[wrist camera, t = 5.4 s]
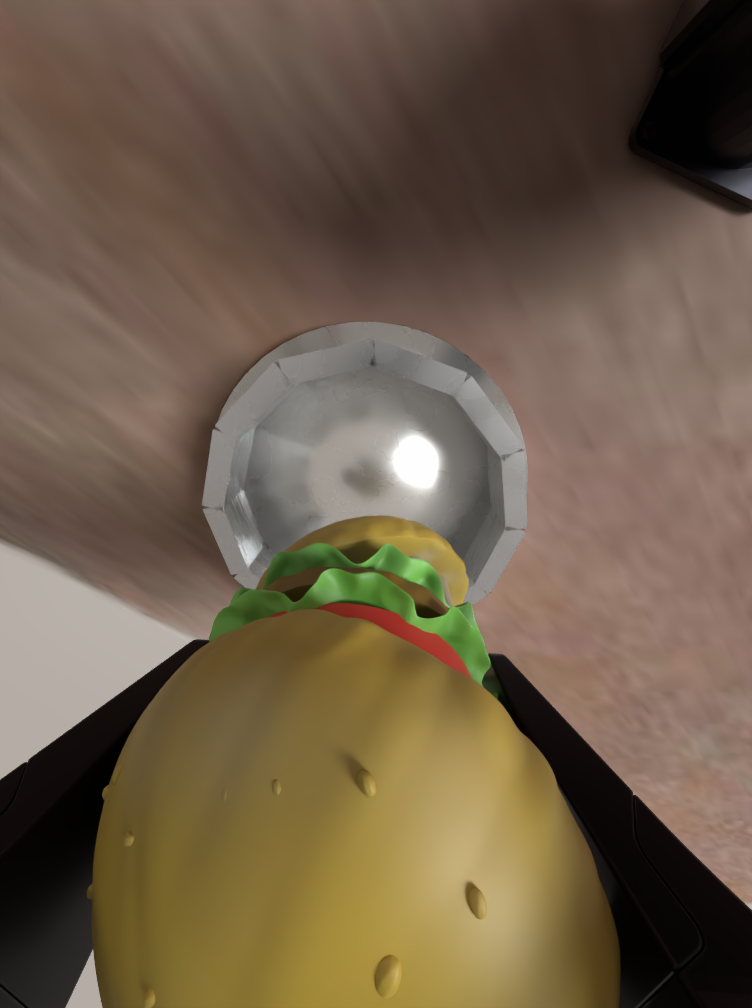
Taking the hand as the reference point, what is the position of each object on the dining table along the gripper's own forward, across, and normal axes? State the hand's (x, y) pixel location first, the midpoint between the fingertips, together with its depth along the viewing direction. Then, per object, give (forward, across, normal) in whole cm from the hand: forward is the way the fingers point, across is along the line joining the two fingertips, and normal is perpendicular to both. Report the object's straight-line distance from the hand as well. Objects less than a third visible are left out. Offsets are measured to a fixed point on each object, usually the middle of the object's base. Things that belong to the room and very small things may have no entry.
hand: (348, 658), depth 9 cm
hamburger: (+4, 0, 0) cm, 4 cm away
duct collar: (+11, 0, 0) cm, 11 cm away
